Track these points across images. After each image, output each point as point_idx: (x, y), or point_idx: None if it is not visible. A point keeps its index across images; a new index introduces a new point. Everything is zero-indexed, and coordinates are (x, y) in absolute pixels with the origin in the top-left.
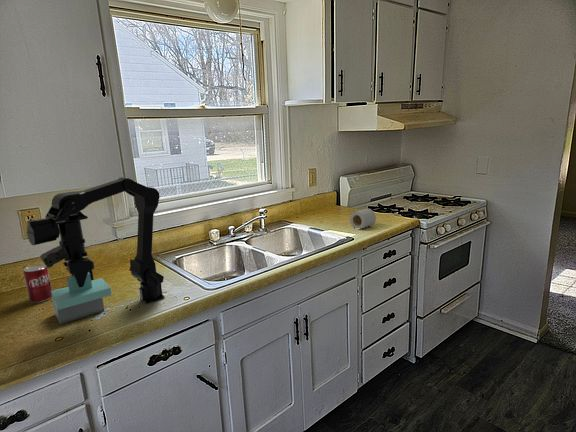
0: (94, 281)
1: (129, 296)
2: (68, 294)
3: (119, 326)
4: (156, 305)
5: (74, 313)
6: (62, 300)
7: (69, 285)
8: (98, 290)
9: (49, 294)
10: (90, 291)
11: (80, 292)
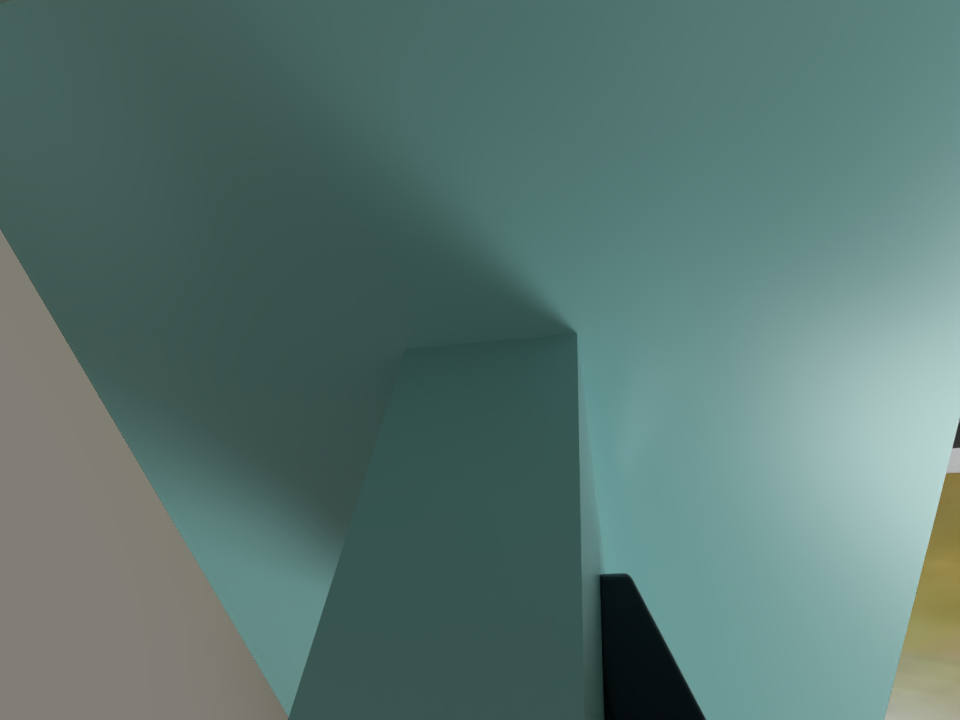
0: (793, 704)
1: (927, 566)
2: (353, 313)
3: None
4: None
5: None
6: (3, 180)
7: (360, 518)
8: (297, 685)
9: None
10: (310, 614)
11: (350, 502)
